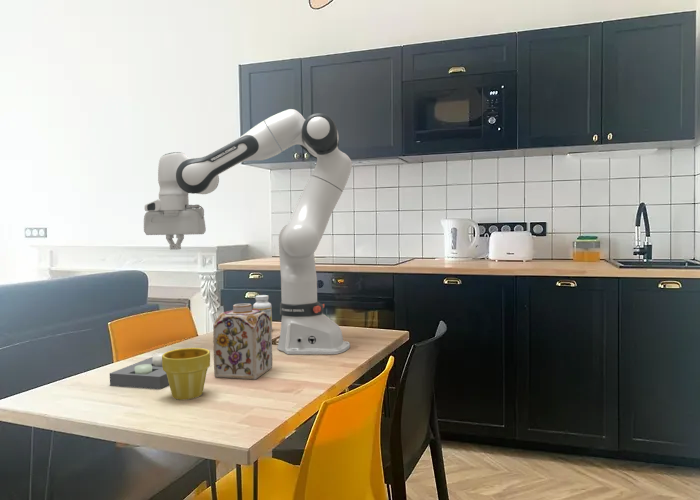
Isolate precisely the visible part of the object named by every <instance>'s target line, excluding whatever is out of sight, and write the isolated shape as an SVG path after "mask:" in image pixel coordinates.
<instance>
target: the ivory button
mask: <svg viewBox="0 0 700 500" xmlns="http://www.w3.org/2000/svg"><path fill="white" fill-rule="evenodd" d="M164 353H165V352H156V353H153V354H152V355H151V357H152V359H153V366H155V367H163V366H162V355H163V354H164Z"/></svg>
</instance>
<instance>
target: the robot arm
mask: <svg viewBox="0 0 700 500" xmlns="http://www.w3.org/2000/svg"><path fill="white" fill-rule="evenodd" d="M295 145H300V147H301V148H302V149H303V150H304V151H305V152H307V154H309V156H311V157H312V158H314V159H316V163H315V164H316V165H315V166H314V169H313V171H312V172H311V174H310V176H309V179H308V181H307V182H306V184H305V186H304V188H303V190H302V192H301V195H300V196H299V198H298V201H297V203H296V205H295V207H294V210H293V212H292V214H291V216H290V218H289V221H287V222H288V223H287V224H285V225H284V226H283V227H282V229H281V230H280V232H279V234H278V252H279V253H278V255H279V268H280V270H279V271H280V288H281V289H280V293H281V295H280V296H281V298H280V299H281V302H280V303H279V315H280V316H279V317H280V322H281V323H280V332H279V339H278V343H277V350H278V351H281V352H284V353H285V354H287V355H337V354H338V355H339V354H341V353H344V352H346V351H348V350H349V349H350V348H351V343H350V342H349V341H347V340H346V341H345V340H344V337H343V332H342V328H341V327H340V325H339V324H337V323H336V322H335V321H333V320H332V319H331V318H329V317H328V316H327V315H325V314H324V308H325V303H323V304H322V303H321V302H320V301H318V275H317V271H316V270H317V269H316V261H315V252H316V250H317V249H318V247H319V244H320V243H321V239H322V238H323V236H324V233H325V232H326V231H325V230H326V228H327V226H328V223H329V220H330V218H331V216H332V214H333V212H334V209H335V208H336V206H337V204H338V201H339V199H341V196H342V194H343V192H344V190H345V188H346V185H347V183H348V180H349V178H350V175H351V171H352V168H353V162H352V159H351V158H350V157H349V155H347V153H345V152H343V151H341V149H339V145H340V144H339V131H338V127H337V125H336V122H335V121H334V120H333V118H331V117H330V116H329V115H328V114H325V113H320V112H316V113H313V114H310V115H308V116H307V118H304V116H303V115H302V113H300V111H298V110H296V109H294V108H293V109H292V108H289V109H285V110H283V111H280V112H278V113H276V114H274V115H271V116H269V117H268V118H266V119H264V120H262V121H261V122H259V123H257V124H256V125H254V126H253V127H252V128H251V129H249V130H248V131H246V132H245V133H244V134H242V135H240V137H238V138H237V139H235V140H233V141H232V142H230V143H228V144H226V145H224V146H223V147H221V148H219V149H217V150H215V151H213V152H211V153H209V154H208V155H206V156H202V157H196V158H194V157H193V158H192V157H190V156H188V155H186V154H185V153H184V152H182V151H181V152H180V151H177V152H176V151H175V152H169V153H165V154H163V155H162V156H161V157H160V158H159V160H158V161H159V162H158V169H157V171H158V172H157V181H158V185H159V192H158V199H155V200H154V201H151V202H148V203H147V204H145V205H144V211H145V212H146V213H144V216H143V232H144V233H145V235H146V236H159V235H160V236H165V239H166V241H167V243H168V244H169V250H171V251H172V250H175V251H176V250H177V251H178V250H179V251H180V250H181V249H182V243H183V241H184V238H185V235H188V236H189V235H190V236H191V235H204V234H205V233H206V228H207V227H206V220H205V217H204V216H205V209H204V207H202V205H200V204H189V194H196V195H197V194H198V195H208V194H211V193H213V192H214V191H215V190H216V189H217V188H218V186H219V182H220V178H219V177H220V176H219V175H220V174H222V173H224V172H226V171H228V170H229V169H231V168H233V167H235V166H237V165H238V164H241V163H243V162H248V161H265V160H268V159H270V158H274V157H276V156H277V155H279V154H281V153H283V152H284V151H285V150H287V149H289V148H291V147H293V146H295ZM174 237H175V238H176V242H175V241H174V240H173V239H174Z"/></svg>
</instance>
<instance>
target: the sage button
mask: <svg viewBox="0 0 700 500" xmlns="http://www.w3.org/2000/svg"><path fill="white" fill-rule="evenodd" d="M151 372H152V365H151V364H141V365H137V366H135V374H145V375H146V374H148V373H151Z"/></svg>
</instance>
